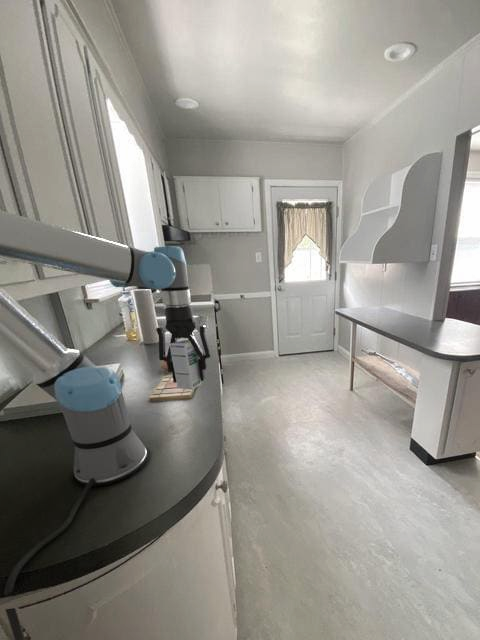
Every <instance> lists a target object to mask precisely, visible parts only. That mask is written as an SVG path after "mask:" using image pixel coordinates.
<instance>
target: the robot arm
mask: <svg viewBox="0 0 480 640" xmlns="http://www.w3.org/2000/svg"><path fill="white" fill-rule="evenodd" d="M0 259H2V260H3V259H4V260H9V261H13V262H18V263H24V264H29V265H33V266H39V267H43V268H49V269H54V270H58V271H64V272H69V273H74V274H79V275H83V276H89V277H93V278H97V279H98V278H99V279H102V280H103V279H104V280H108V281H109V283H110V284H111V285H112V286H113V287H115V288H131V287H132V288H134V287H138V288H146V289H151V290H156V291H160V294H161V300H162V305H163V306H164V308H163V310H164V317H165V322H166V323H165V325H162V326H161V325H159V326H158V327H156V329H155V332H156V333H157V336H158V359H159V361H162V362H163V361H166V362H167V367H168V371H169V372H170V373H171V375H172V376H173V382H174V383H175V382H176V377H175V371H174V366H173V361H172V356H171V350H170V345H168V350H167V354H166V333H167V331H168V332H169V333H170V335H171V337H170V341H169V344H170V343H175V342H176V341H178V340H180V339H188V340H189V341H190V342H191V344H192V346H193V347H194V349H195V351H196V352H197V354H198V356H199V360H198V363H199V370H200V377H201V381H203V382H204V380H205V378H206V377H205V370H207V359H210V358H211V355H212V351H211V348H210V345H209V341H208V337H207V334H206V324H204V323H202V324H198V323H196V322H195V320H194V313H193V306H192V305H191V303H192V299H191V292H190V287H189V277H188V271H187V262H186V257H185V253H184V250H183V248H182V247H181V246H178V245H177V246H176V245H158V246H154V247H153V251H146V250H142V249H139V248H135V247H131V246H128V245H125V244H121V243H118V242H115V241H111V240H107V239H104V238H100V237H96V236H93V235H89V234H86V233H82V232H78V231H76V230H72V229H68V228H64V227H61V226H58V225H55V224H51V223H47V222H43V221H40V220H36V219H32V218H29V217H25V216H22V215H18V214H15V213H11V212H7V211H4V210H0ZM195 329H196V330H197V333H199V337H200V340H201V344H202V346H200V344H199V342H198V340H197V339H196V336H195V334H194V331H195ZM202 347H203V349H202ZM0 348H1V349H3V350H4V351H5V352H7V354H9V355H10V356H11V357H13V358H14V359H16V361H18V362H19V363H20V364H21V365H23V366H24V367H25V368H27V369H28V370H29V371H30V372H31V373H32V380H33V381H32V382H33V383H34V384H35V385H36V386H38V387H39V388H40V389H41V390H43V391H44V393H46V394H48V395H49V396H50V397H51V398H53V399H54V400H55V401H56V402H57V403H58V406H59V408H60V411H61V413H62V415H63V417H64V420H65V423H66V426H67V429H68V431H69V434H70V437H71V440H72V442H73V445H74V459H73V475H74V477H75V480H76V482H77V483H78V484H79V485H81V486H84V488H83V490H82V491H81V493H80V494H79V496H78V498H77V499H76V500H75V502H74V504H73V506H72V508H71V509H70V511H69V513H68V514H67V518H66V519H65V520H64V522H63V523H62V524H61V525H60V526H59V527H58V528H57V529H56V530H55V531H54V532H53V531H52V533H50V534H49V535H47V537H45V538H43V539H42V540H40V542H38V543H37V544H36V545H34V546H33V547H32V548H31V549H30V550H29V551H28V552H26V553H25V554H24V556H23V557H22V558H20V560H19V561H18V562H17V563H16V564H15V565H14V566H13V568H12V569H11V572H10V573H9V575H8V578H7V580H6V583H5V586H4V591H3V595H4V596H8V595H10V594H11V593H12V592H13V591H14V587H15V585H16V584H15V583H16V581H17V578H18V576H19V573H20V572H21V570H22V569H23V567H24V566H25V565H26V564H27V563H28V562H29V560H30V559H32V557H34V555H36V553H37V552H38V551H40V550H41V549H42V548H44V547H45V546H46V545H47V544H49V543H50V542H52V541H53V540H54V539H56V538H58V537H59V536H60V535H61V534H62V533H63V532H64V531H65V530H67V528H68V527H69V526H70V524H72V521H73V520H74V518H75V516H76V513H77V512H78V509H79V508H80V506H81V504H82V503H83V501H84V499H85V498H86V496H87V494H88V493H89V492H90V490H91V488H95V487H104V486H108V485H112V484H117V483H118V482H121V481H123V480H125V479H128V478H129V477H131V476H133V475H134V474H136V473H137V472H138V471H140V470H141V469H142V467H144V465H145V464H146V462H147V460H148V453H147V452H148V451H147V448H146V446H145V444H143V442H142V441H141V439H140V438H139V437H138V435H137V434H136V433H135V431H134V430H133V428H132V424H131V420H130V417H129V413H128V409H127V405H126V402H125V401H126V400H125V398H124V397H125V396H124V394H123V390H122V389H123V387H122V383H121V381H120V379H119V377H118V375H117V373H116V372H115V371H114V370H113V369H111V368H108V367H104V366H101V367H100V366H97V365H96V364H94V363H93V362H92V361H91V360H90V359H89V358H88V357H87V356H86V355H85V354H84V353H82V352H81V350H79V349H77V348H68V347H66V346H65V345H64V344H63V343H62V342H61V341H59V340H58V339H57V337H55V336H54V335H53V334H52V333H51V332H50V331H49V330H48V329H47V328H46V327H45V326H43V325H42V324H41V323H40V322H39V321H38V320H37V319H36V318H35V317H33V315H31V314H30V313H29V312H28V311H27V310H26V309H25V308H24V307H23V306H21V304H20V303H19V302H17V300H16V299H14V298H13V297H12V296H11V295H10V294H9V293H8V292H7V291H5V290H4V289H3V288H2V287H1V286H0ZM203 350H204V351H203ZM4 610H5V613H6V616H7V619H8V623H9V626H10V629H11V632H12V633H11V634H12V635H13V636H12V637H13V638H14V640H26V639H25V635H24V633H23V631H22V626H21V623H20V619H19V617H18V612H17V609H16V608H15V607H13V608H12V607H11V608H5V609H4Z"/></svg>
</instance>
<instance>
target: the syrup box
mask: <svg viewBox="0 0 480 640" xmlns="http://www.w3.org/2000/svg"><path fill="white" fill-rule="evenodd" d="M169 345H170V350H171V356H172V361H173V366H174V371H175V377H176V382H177V387H178V388H181V389H189V390H193V389H194V388H195V389H196V388H197V387H199V386H201V385H203V383H204V381H201V377H200V370H199V363H198V360H199V358H200V357H199V356H198V354H197V352H196V351H195V349H194V347H193V346H192V344H191V342H190V341H189V340H188V338H179V339H177V341H176V342H175V343H170V342H169ZM169 345H168V346H169Z"/></svg>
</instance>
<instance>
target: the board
mask: <svg viewBox="0 0 480 640" xmlns="http://www.w3.org/2000/svg"><path fill="white" fill-rule="evenodd" d="M195 389H196V388H194V389H193V390H189V389H181V388H178V387H177V382H175V383H174V382H173V376H172V374H169V375H168V374H166V375H164V377H162V379H161V381H160V382H159V383H158V385H157V386H156V387H155V388H154V390H153V391H152V393H151V395H150V396H149V399H148V400H149V402H161V401H162V402H163V401H175V400H176V401H177V400H188V399H189V400H190V399H192V397H193V395H194V393H195Z"/></svg>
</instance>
